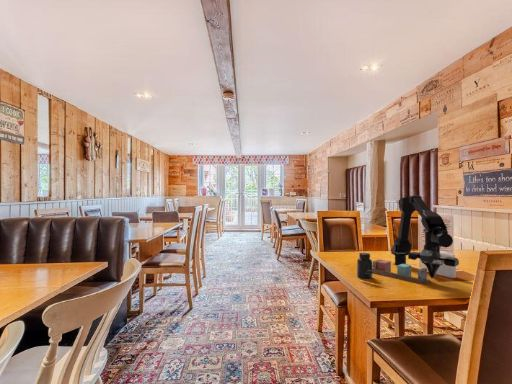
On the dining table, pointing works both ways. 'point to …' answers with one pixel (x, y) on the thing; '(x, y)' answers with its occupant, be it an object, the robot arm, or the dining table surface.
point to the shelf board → (394, 274)
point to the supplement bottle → (364, 266)
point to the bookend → (423, 274)
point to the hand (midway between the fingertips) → (432, 277)
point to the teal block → (404, 269)
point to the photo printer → (444, 269)
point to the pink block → (384, 265)
